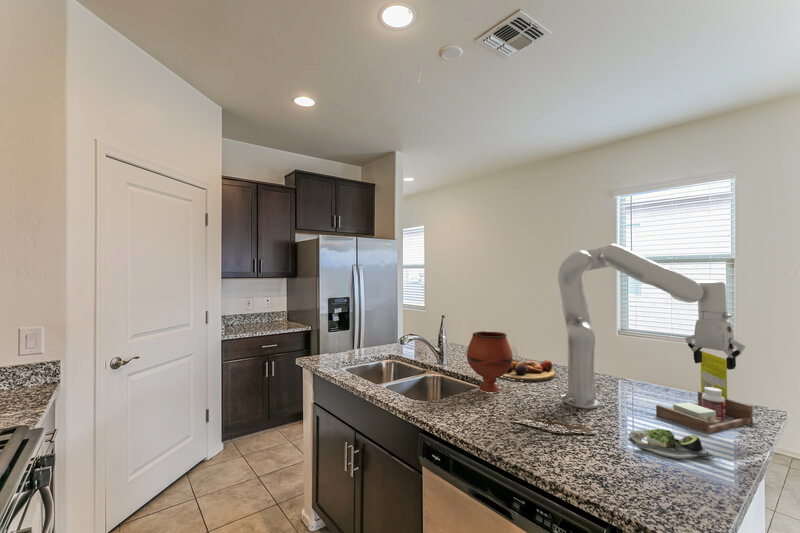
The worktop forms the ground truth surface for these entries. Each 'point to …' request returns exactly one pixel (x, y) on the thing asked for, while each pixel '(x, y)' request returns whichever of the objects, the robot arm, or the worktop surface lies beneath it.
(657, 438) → the salad plate
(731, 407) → the walnut rack
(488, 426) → the worktop surface
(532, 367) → the wooden plate with food
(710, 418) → the ash offcut
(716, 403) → the pill bottle
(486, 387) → the goblet
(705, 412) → the sage painted offcut
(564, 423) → the wooden fragment
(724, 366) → the food package
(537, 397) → the worktop surface
